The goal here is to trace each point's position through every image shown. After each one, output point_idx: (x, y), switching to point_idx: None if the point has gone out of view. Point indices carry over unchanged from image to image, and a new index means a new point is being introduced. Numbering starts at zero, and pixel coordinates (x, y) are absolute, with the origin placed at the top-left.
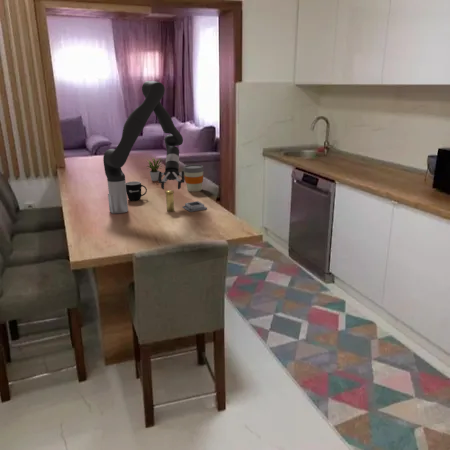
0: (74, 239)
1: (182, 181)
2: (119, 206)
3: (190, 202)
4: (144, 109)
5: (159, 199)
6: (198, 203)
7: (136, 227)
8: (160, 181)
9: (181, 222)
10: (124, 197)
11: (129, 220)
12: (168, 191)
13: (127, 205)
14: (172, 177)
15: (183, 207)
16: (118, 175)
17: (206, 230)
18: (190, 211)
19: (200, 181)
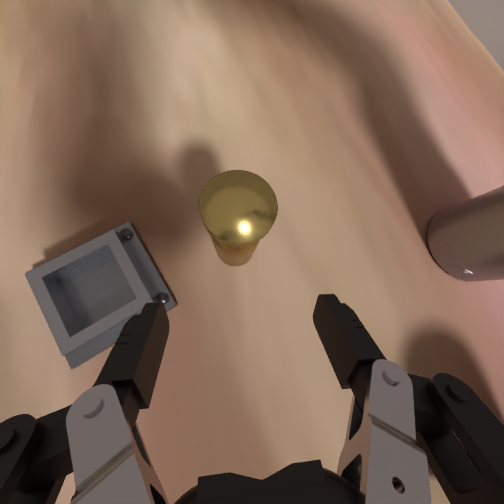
0: (445, 5)
1: (54, 421)
2: (477, 196)
3: (117, 318)
4: None
5: None
6: (66, 318)
7: (319, 64)
8: (410, 375)
9: (167, 94)
10: None
11: (369, 130)
12: (247, 200)
13: (454, 239)
14: (233, 494)
15: (171, 295)
16: None
17: (69, 14)
18: (130, 222)
19: None
